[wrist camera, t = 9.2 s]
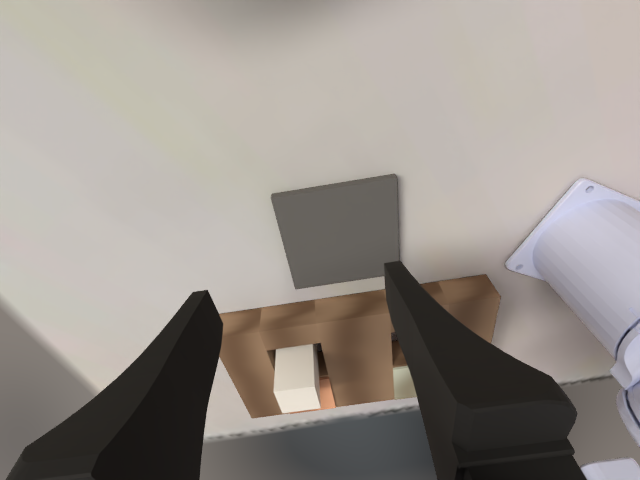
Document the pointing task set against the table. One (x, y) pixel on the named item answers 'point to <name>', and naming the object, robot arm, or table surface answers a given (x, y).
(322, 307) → the socket block
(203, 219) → the table surface
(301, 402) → the plug
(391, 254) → the grey square plate
